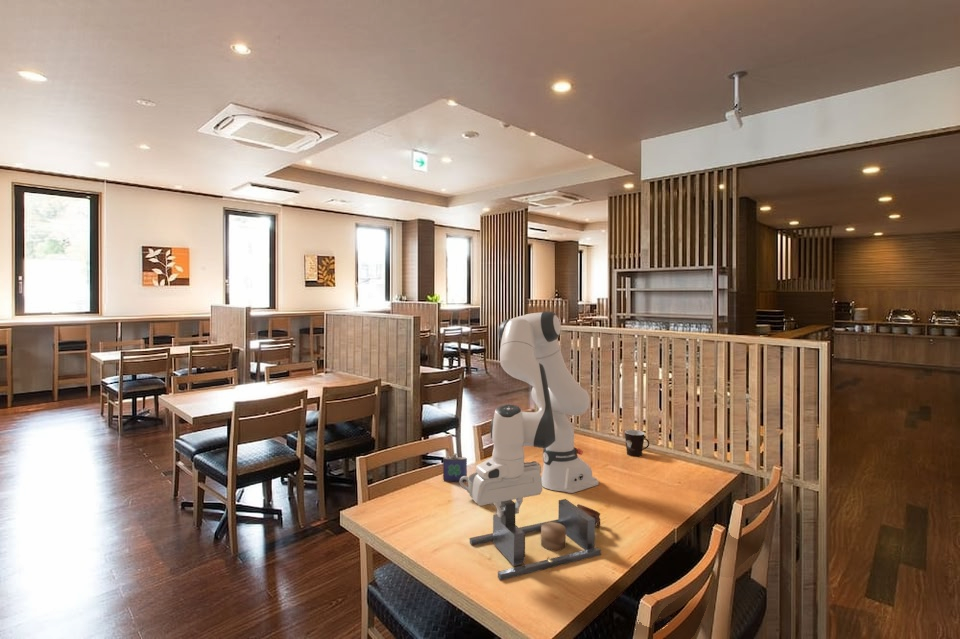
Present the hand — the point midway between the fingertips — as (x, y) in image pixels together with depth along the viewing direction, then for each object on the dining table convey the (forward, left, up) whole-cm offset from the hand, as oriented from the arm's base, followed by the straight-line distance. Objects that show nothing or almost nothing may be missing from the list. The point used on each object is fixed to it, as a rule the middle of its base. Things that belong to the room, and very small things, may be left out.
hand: (508, 514), depth 137 cm
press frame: (-9, 0, -12) cm, 14 cm away
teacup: (-8, -38, -12) cm, 40 cm away
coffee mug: (-91, -53, -12) cm, 106 cm away
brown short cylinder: (-15, 0, -12) cm, 19 cm away
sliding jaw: (0, 0, -12) cm, 12 cm away
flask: (-6, -57, -12) cm, 58 cm away
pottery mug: (-28, -4, -12) cm, 31 cm away
